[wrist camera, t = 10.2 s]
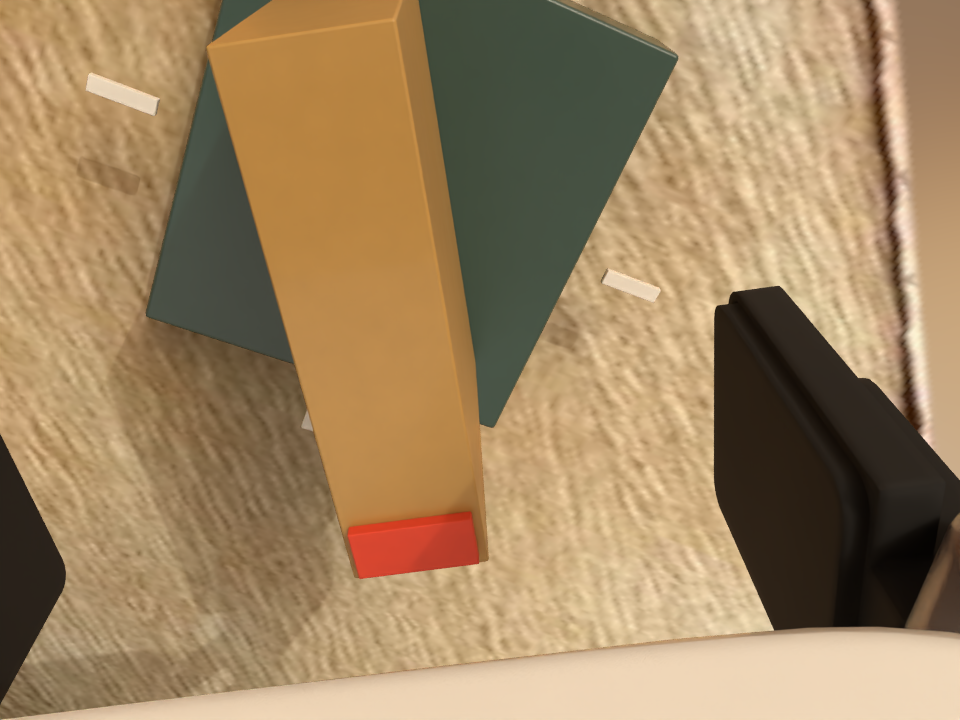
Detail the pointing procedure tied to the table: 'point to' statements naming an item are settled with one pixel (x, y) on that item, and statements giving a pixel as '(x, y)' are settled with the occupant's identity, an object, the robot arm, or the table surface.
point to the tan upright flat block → (363, 268)
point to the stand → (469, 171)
